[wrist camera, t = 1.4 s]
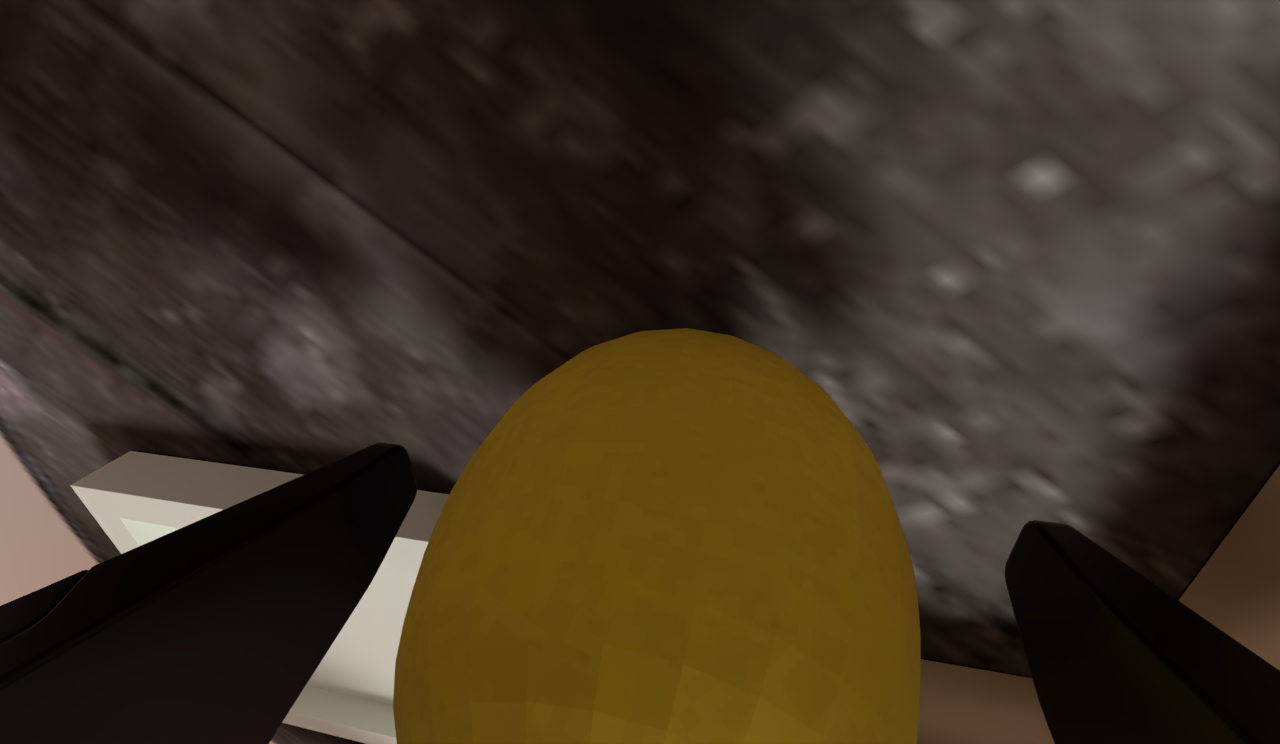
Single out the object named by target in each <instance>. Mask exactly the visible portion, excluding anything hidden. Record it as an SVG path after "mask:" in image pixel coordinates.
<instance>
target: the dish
mask: <svg viewBox="0 0 1280 744" xmlns="http://www.w3.org/2000/svg"><path fill="white" fill-rule="evenodd" d="M302 475H303V474H296V473H289V472H281V471H274V470H267V469H259V468H252V467H245V466H237V465H230V464H222V463H215V462H208V461H200V460H193V459H186V458H178V457H171V456H164V455H156V454H149V453H142V452H134V451H129V452H128V453H126V454H124V455H122V456H121V457H119V458H117V459H115V460H114V461H112V462H110V463H108V464H107V465H105V466H103V467H101V468H100V469H98V470H96V471H94V472H93V473H91V474H89V475H87V476H86V477H84V478H82V479H80V480H79V481H77V482H75V483H73V484H72V485H70V486H71V487H72V489H73V490H74V491H75V493H76V494H77V495H78V497H79V498H80V499H81V501H82V502H83V503H84V505H85V506H86V507H87V509H88V510H89V511H90V513H91V514H92V515H93V517H94V518H95V519H96V521H97V522H98V523H99V525H100V526H101V527H102V529H103V530H104V531H105V533H106V534H107V535H108V537H109V538H110V539H111V541H112V542H113V543H114V545H115V546H116V547H117V549H118V550H119V551H120V553H121V554H123V553H125V552H127V551H130V550H132V549H134V548H137V547H139V546H141V545H143V544H146V543H148V542H150V541H153V540H155V539H157V538H160V537H162V536H164V535H166V534H169V533H171V532H173V531H176V530H178V529H180V528H183V527H185V526H187V525H190V524H192V523H194V522H196V521H199V520H201V519H203V518H206V517H208V516H210V515H213V514H215V513H217V512H219V511H222V510H224V509H226V508H229V507H231V506H233V505H236V504H238V503H240V502H242V501H245V500H247V499H249V498H252V497H254V496H256V495H259V494H261V493H263V492H266V491H268V490H270V489H272V488H275V487H277V486H279V485H282V484H284V483H286V482H289V481H291V480H293V479H295V478H298V477H300V476H302ZM448 496H449V494H443V493H435V492H428V491H421V490H417V494H416V497H415V500H414V502H413V504H412V506H411V507H410V509H409V511H408V513H407V515H406V517H405V519H404V521H403V523H402V525H401V527H400V529H399V531H398V533H397V535H396V536H395V538H394V540H393V542H392V544H391V546H390V548H389V550H388V552H387V554H386V556H385V558H384V560H383V562H382V564H381V566H380V567H379V569H378V571H377V573H376V575H375V577H374V578H373V580H372V582H371V584H370V585H369V587H368V589H367V590H366V592H365V594H364V595H363V597H362V599H361V600H360V602H359V603H358V605H357V606H356V608H355V609H354V611H353V613H352V614H351V616H350V617H349V619H348V620H347V622H346V624H345V625H344V627H343V628H342V630H341V631H340V633H339V634H338V636H337V638H336V639H335V641H334V642H333V644H332V645H331V647H330V649H329V650H328V652H327V653H326V655H325V656H324V658H323V659H322V661H321V663H320V664H319V666H318V667H317V669H316V670H315V672H314V673H313V675H312V677H311V678H310V680H309V681H308V683H307V684H306V686H305V688H304V689H303V691H302V692H301V694H300V695H299V697H298V698H297V700H296V702H295V703H294V705H293V706H292V708H291V709H290V711H289V713H288V714H287V716H286V717H285V719H284V720H283V722H282V723H286V724H290V725H294V726H297V727H301V728H305V729H309V730H313V731H317V732H321V733H325V734H329V735H333V736H337V737H341V738H345V739H349V740H353V741H357V742H361V743H365V744H397V740H396V730H395V721H394V712H393V696H394V678H395V662H396V657H397V652H398V647H399V642H400V637H401V632H402V628H403V623H404V619H405V616H406V612H407V608H408V605H409V601H410V598H411V594H412V590H413V587H414V584H415V581H416V578H417V574H418V571H419V568H420V565H421V562H422V559H423V556H424V552H425V550H426V547H427V545H428V542H429V540H430V537H431V535H432V532H433V530H434V527H435V525H436V522H437V520H438V518H439V516H440V513H441V511H442V509H443V507H444V505H445V503H446V501H447V499H448Z"/></svg>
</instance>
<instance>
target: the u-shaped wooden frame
mask: <svg viewBox="0 0 1280 744" xmlns="http://www.w3.org/2000/svg"><path fill="white" fill-rule="evenodd" d="M1178 601H1180V602H1181V603H1183V604H1184V605H1186V606H1187V607H1188V608H1190V609H1191V610H1193V611H1194V612H1196V613H1197V614H1199V615H1200V616H1201V617H1203V618H1204V619H1206V620H1207V621H1209V622H1210V623H1212V624H1213V625H1215V626H1216V627H1217V628H1219V629H1220V630H1222V631H1223V632H1225V633H1226V634H1228V635H1229V636H1230V637H1232V638H1233V639H1235V640H1236V641H1238V642H1239V643H1241V644H1242V645H1243V646H1245V647H1246V648H1248V649H1249V650H1251V651H1252V652H1254V653H1255V654H1257V655H1258V656H1259V657H1261V658H1262V659H1264V660H1265V661H1267V662H1268V663H1270V664H1271V665H1272V666H1274V667H1275V668H1277V669H1278V670H1280V465H1279V467H1278V468H1277V469H1276V471H1275V472H1274V473H1273V475H1272V476H1271V477H1270V479H1269V480H1268V481H1267V483H1266V484H1265V485H1264V487H1263V488H1262V489H1261V491H1260V492H1259V493H1258V495H1257V496H1256V497H1255V499H1254V500H1253V501H1252V503H1251V504H1250V505H1249V507H1248V508H1247V509H1246V511H1245V512H1244V513H1243V515H1242V516H1241V517H1240V519H1239V520H1238V521H1237V523H1236V524H1235V526H1234V527H1233V528H1232V530H1231V531H1230V532H1229V534H1228V535H1227V536H1226V538H1225V539H1224V540H1223V542H1222V543H1221V544H1220V546H1219V547H1218V548H1217V550H1216V551H1215V552H1214V554H1213V555H1212V556H1211V558H1210V559H1209V560H1208V562H1207V563H1206V564H1205V566H1204V567H1203V568H1202V570H1201V571H1200V572H1199V574H1198V575H1197V576H1196V578H1195V579H1194V580H1193V582H1192V583H1191V584H1190V586H1189V587H1188V588H1187V590H1186V591H1185V592H1184V594H1183V595H1182V596H1181V598H1180V599H1179V600H1178ZM917 744H1055V743H1054V740H1053V738H1052V735H1051V733H1050V730H1049V728H1048V725H1047V722H1046V719H1045V717H1044V714H1043V711H1042V708H1041V706H1040V703H1039V700H1038V696H1037V693H1036V690H1035V687H1034V683H1033V680H1032V678H1027V677H1022V676H1016V675H1010V674H1004V673H998V672H993V671H987V670H981V669H975V668H969V667H963V666H958V665H952V664H946V663H940V662H934V661H928V660H923V659H921V677H920V699H919V720H918V734H917Z"/></svg>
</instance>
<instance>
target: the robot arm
mask: <svg viewBox="0 0 1280 744" xmlns="http://www.w3.org/2000/svg"><path fill="white" fill-rule="evenodd" d="M416 494H417V481H416V478H415V475H414V472H413V468H412V465H411V462H410V459H409V456H408V453H407V450H406V449H405V448H404V447H403V446H401V445H396V444H388V443H377V444H374V445H371V446H369V447H367V448H365V449H362V450H360V451H358V452H355V453H353V454H351V455H348V456H346V457H344V458H342V459H339V460H337V461H335V462H332V463H330V464H328V465H325V466H323V467H321V468H318V469H316V470H314V471H312V472H309V473H307V474H305V475H302V476H300V477H298V478H295V479H293V480H291V481H289V482H286V483H284V484H282V485H279V486H277V487H275V488H272V489H270V490H268V491H266V492H263V493H261V494H259V495H256V496H254V497H252V498H249V499H247V500H245V501H242V502H240V503H238V504H236V505H233V506H231V507H229V508H226V509H224V510H222V511H219V512H217V513H215V514H213V515H210V516H208V517H206V518H203V519H201V520H199V521H196V522H194V523H192V524H190V525H187V526H185V527H183V528H180V529H178V530H176V531H173V532H171V533H169V534H166V535H164V536H162V537H160V538H157V539H155V540H153V541H150V542H148V543H146V544H143V545H141V546H139V547H137V548H134V549H132V550H130V551H127V552H125V553H123V554H120V555H118V556H116V557H114V558H111V559H109V560H107V561H104V562H102V563H100V564H97V565H95V566H94V567H92V568H91V569H90V570H84V571H81V572H79V573H76V574H74V575H72V576H69V577H67V578H65V579H63V580H60V581H58V582H56V583H53V584H51V585H49V586H47V587H44V588H42V589H40V590H38V591H35V592H32V593H30V594H28V595H25V596H23V597H21V598H18V599H16V600H13V601H11V602H9V603H6V604H4V605H2V606H0V744H269V742H270V741H271V739H272V738H273V736H274V734H275V733H276V731H277V730H278V728H279V727H280V725H281V723H282V722H283V720H284V719H285V717H286V716H287V714H288V713H289V711H290V709H291V708H292V706H293V705H294V703H295V702H296V700H297V698H298V697H299V695H300V694H301V692H302V691H303V689H304V688H305V686H306V684H307V683H308V681H309V680H310V678H311V677H312V675H313V673H314V672H315V670H316V669H317V667H318V666H319V664H320V663H321V661H322V659H323V658H324V656H325V655H326V653H327V652H328V650H329V649H330V647H331V645H332V644H333V642H334V641H335V639H336V638H337V636H338V634H339V633H340V631H341V630H342V628H343V627H344V625H345V624H346V622H347V620H348V619H349V617H350V616H351V614H352V613H353V611H354V609H355V608H356V606H357V605H358V603H359V602H360V600H361V599H362V597H363V595H364V594H365V592H366V590H367V589H368V587H369V585H370V584H371V582H372V580H373V578H374V577H375V575H376V573H377V571H378V569H379V567H380V566H381V564H382V562H383V560H384V558H385V556H386V554H387V552H388V550H389V548H390V546H391V544H392V542H393V540H394V538H395V536H396V535H397V533H398V531H399V529H400V527H401V525H402V523H403V521H404V519H405V517H406V515H407V513H408V511H409V509H410V507H411V506H412V504H413V502H414V500H415V497H416ZM1005 581H1006V585H1007V589H1008V592H1009V596H1010V600H1011V603H1012V607H1013V611H1014V614H1015V618H1016V622H1017V625H1018V629H1019V633H1020V636H1021V640H1022V643H1023V647H1024V651H1025V654H1026V658H1027V662H1028V665H1029V669H1030V673H1031V676H1032V680H1033V683H1034V687H1035V690H1036V693H1037V696H1038V700H1039V703H1040V706H1041V708H1042V711H1043V714H1044V717H1045V719H1046V722H1047V725H1048V728H1049V730H1050V733H1051V735H1052V738H1053V740H1054V743H1055V744H1280V670H1278V669H1277V668H1275V667H1274V666H1272V665H1271V664H1270V663H1268V662H1267V661H1265V660H1264V659H1262V658H1261V657H1259V656H1258V655H1257V654H1255V653H1254V652H1252V651H1251V650H1249V649H1248V648H1246V647H1245V646H1243V645H1242V644H1241V643H1239V642H1238V641H1236V640H1235V639H1233V638H1232V637H1230V636H1229V635H1228V634H1226V633H1225V632H1223V631H1222V630H1220V629H1219V628H1217V627H1216V626H1215V625H1213V624H1212V623H1210V622H1209V621H1207V620H1206V619H1204V618H1203V617H1201V616H1200V615H1199V614H1197V613H1196V612H1194V611H1193V610H1191V609H1190V608H1188V607H1187V606H1186V605H1184V604H1183V603H1181V602H1180V601H1178V600H1177V599H1175V598H1174V597H1172V596H1171V595H1170V594H1168V593H1167V592H1165V591H1164V590H1162V589H1161V588H1159V587H1158V586H1157V585H1155V584H1154V583H1152V582H1151V581H1149V580H1148V579H1146V578H1145V577H1144V576H1142V575H1141V574H1139V573H1138V572H1136V571H1135V570H1133V569H1132V568H1130V567H1129V566H1128V565H1126V564H1125V563H1123V562H1122V561H1120V560H1119V559H1117V558H1116V557H1115V556H1113V555H1112V554H1110V553H1109V552H1107V551H1106V550H1104V549H1103V548H1102V547H1100V546H1099V545H1097V544H1096V543H1094V542H1093V541H1091V540H1090V539H1088V538H1087V537H1086V536H1084V535H1083V534H1081V533H1080V532H1078V531H1077V530H1075V529H1074V528H1072V527H1071V526H1068V525H1066V524H1062V523H1054V522H1045V521H1037V520H1034V521H1029V522H1028V523H1026V524H1025V525H1024V527H1023V528H1022V530H1021V532H1020V534H1019V536H1018V538H1017V541H1016V543H1015V545H1014V547H1013V549H1012V551H1011V553H1010V556H1009V558H1008V560H1007V562H1006V566H1005Z"/></svg>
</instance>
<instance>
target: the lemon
mask: <svg viewBox="0 0 1280 744" xmlns="http://www.w3.org/2000/svg"><path fill="white" fill-rule="evenodd" d="M920 677H921V635H920V620H919V606H918V596H917V589H916V583H915V576H914V570H913V565H912V561H911V557H910V553H909V549H908V545H907V541H906V538H905V535H904V532H903V529H902V526H901V524H900V521H899V518H898V515H897V513H896V510H895V507H894V505H893V502H892V499H891V497H890V494H889V492H888V489H887V486H886V484H885V481H884V478H883V476H882V473H881V470H880V468H879V466H878V464H877V462H876V460H875V458H874V456H873V454H872V452H871V450H870V449H869V447H868V446H867V444H866V443H865V441H864V440H863V438H862V437H861V435H860V434H859V433H858V431H857V430H856V429H855V428H854V426H853V425H852V424H851V423H850V421H849V420H848V419H847V417H846V416H845V415H844V414H843V412H842V411H841V410H840V409H839V407H838V406H837V405H836V404H835V402H834V401H833V400H832V399H831V397H830V396H829V395H828V394H827V393H826V392H825V391H824V390H823V389H822V388H821V386H819V385H818V384H817V383H815V382H814V381H813V380H811V379H810V378H809V377H807V376H806V375H805V374H803V373H802V372H801V371H799V370H798V369H796V368H795V367H794V366H792V365H791V364H790V363H788V362H787V361H786V360H784V359H783V358H782V357H780V356H778V355H777V354H775V353H773V352H771V351H768V350H766V349H764V348H761V347H759V346H756V345H754V344H751V343H749V342H747V341H744V340H742V339H739V338H737V337H735V336H732V335H726V334H720V333H714V332H708V331H702V330H696V329H690V328H681V329H666V330H650V331H640V332H635V333H632V334H629V335H626V336H623V337H620V338H617V339H614V340H610V341H607V342H604V343H601V344H598V345H595V346H592V347H590V348H588V349H586V350H584V351H582V352H581V353H579V354H578V355H576V356H575V357H573V358H572V359H570V360H569V361H567V362H566V363H564V364H563V365H561V366H560V367H558V368H557V369H555V370H554V371H552V372H551V373H549V374H548V375H546V376H545V377H544V378H542V379H541V380H540V381H538V382H537V383H535V384H534V385H533V386H531V387H530V388H529V389H528V390H527V391H526V392H525V393H524V394H523V395H522V396H521V397H520V398H519V399H518V400H517V401H516V402H515V403H514V404H513V405H512V407H511V408H510V409H509V410H508V411H507V412H506V414H505V415H504V416H503V417H502V419H501V420H500V421H499V422H498V424H497V425H496V426H495V427H494V429H493V430H492V431H491V433H490V434H489V435H488V436H487V438H486V439H485V440H484V441H483V443H482V444H481V445H480V446H479V448H478V449H477V450H476V452H475V453H474V455H473V456H472V458H471V459H470V461H469V462H468V464H467V465H466V466H465V468H464V469H463V471H462V473H461V475H460V476H459V478H458V480H457V482H456V484H455V485H454V487H453V489H452V491H451V492H450V494H449V496H448V499H447V501H446V503H445V505H444V507H443V509H442V511H441V513H440V516H439V518H438V520H437V522H436V525H435V527H434V530H433V532H432V535H431V537H430V540H429V542H428V545H427V547H426V550H425V552H424V556H423V559H422V562H421V565H420V568H419V571H418V574H417V578H416V581H415V584H414V587H413V590H412V594H411V598H410V601H409V605H408V608H407V612H406V616H405V619H404V623H403V628H402V632H401V637H400V642H399V647H398V652H397V657H396V662H395V678H394V696H393V712H394V721H395V730H396V740H397V744H917V734H918V720H919V699H920Z"/></svg>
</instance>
